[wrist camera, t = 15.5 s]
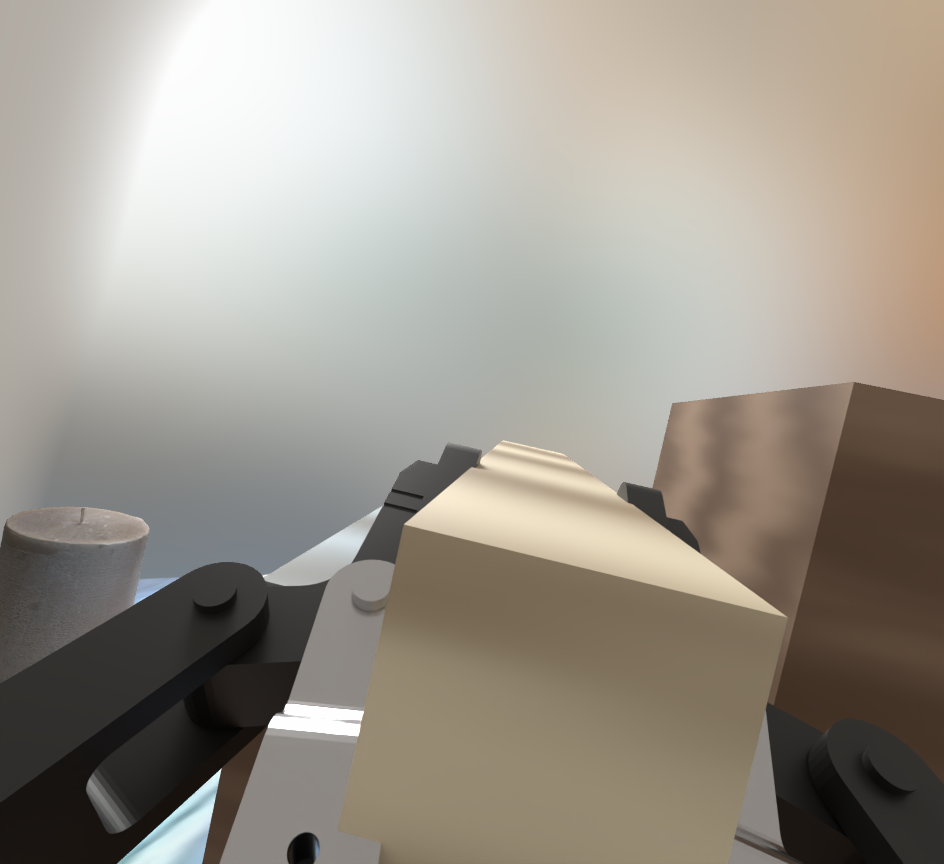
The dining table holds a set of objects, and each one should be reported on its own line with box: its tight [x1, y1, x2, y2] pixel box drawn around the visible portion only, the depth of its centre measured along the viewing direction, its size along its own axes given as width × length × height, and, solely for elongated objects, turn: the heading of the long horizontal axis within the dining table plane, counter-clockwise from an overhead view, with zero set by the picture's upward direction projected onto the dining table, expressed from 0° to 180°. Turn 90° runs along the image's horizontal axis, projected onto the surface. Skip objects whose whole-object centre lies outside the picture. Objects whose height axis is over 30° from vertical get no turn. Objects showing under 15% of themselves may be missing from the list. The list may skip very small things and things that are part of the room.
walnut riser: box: [202, 382, 944, 864], centre depth 20 cm, size 15×23×32 cm, turn 84°
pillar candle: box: [0, 507, 150, 683], centre depth 43 cm, size 10×10×15 cm
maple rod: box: [338, 441, 788, 864], centre depth 15 cm, size 22×3×3 cm, turn 175°
